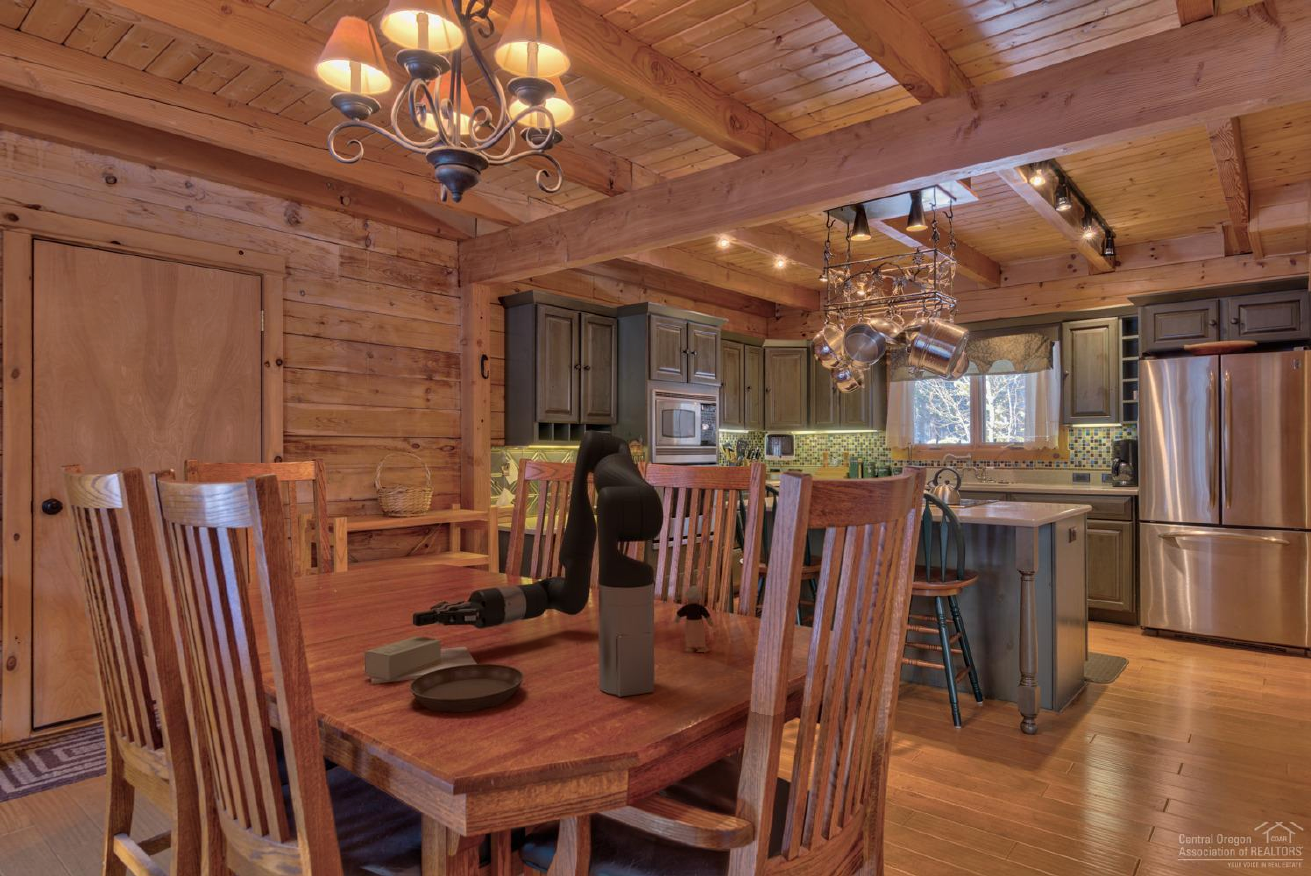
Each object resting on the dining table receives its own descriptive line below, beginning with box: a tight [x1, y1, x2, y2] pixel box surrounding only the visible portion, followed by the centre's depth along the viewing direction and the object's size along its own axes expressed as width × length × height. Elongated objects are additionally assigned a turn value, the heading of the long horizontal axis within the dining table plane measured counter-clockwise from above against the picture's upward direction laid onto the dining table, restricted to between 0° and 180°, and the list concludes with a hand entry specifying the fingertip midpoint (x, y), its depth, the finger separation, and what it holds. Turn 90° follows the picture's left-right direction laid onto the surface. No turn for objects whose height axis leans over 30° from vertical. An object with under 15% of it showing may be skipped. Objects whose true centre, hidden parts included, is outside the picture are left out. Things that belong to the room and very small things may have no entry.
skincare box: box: [364, 636, 442, 680], centre depth 133 cm, size 6×4×12 cm
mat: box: [370, 646, 477, 685], centre depth 138 cm, size 16×18×1 cm
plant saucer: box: [409, 663, 524, 713], centre depth 120 cm, size 18×18×3 cm
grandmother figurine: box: [674, 585, 714, 653], centre depth 147 cm, size 8×4×13 cm, turn 84°
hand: (414, 619), depth 138 cm, fingers closed
